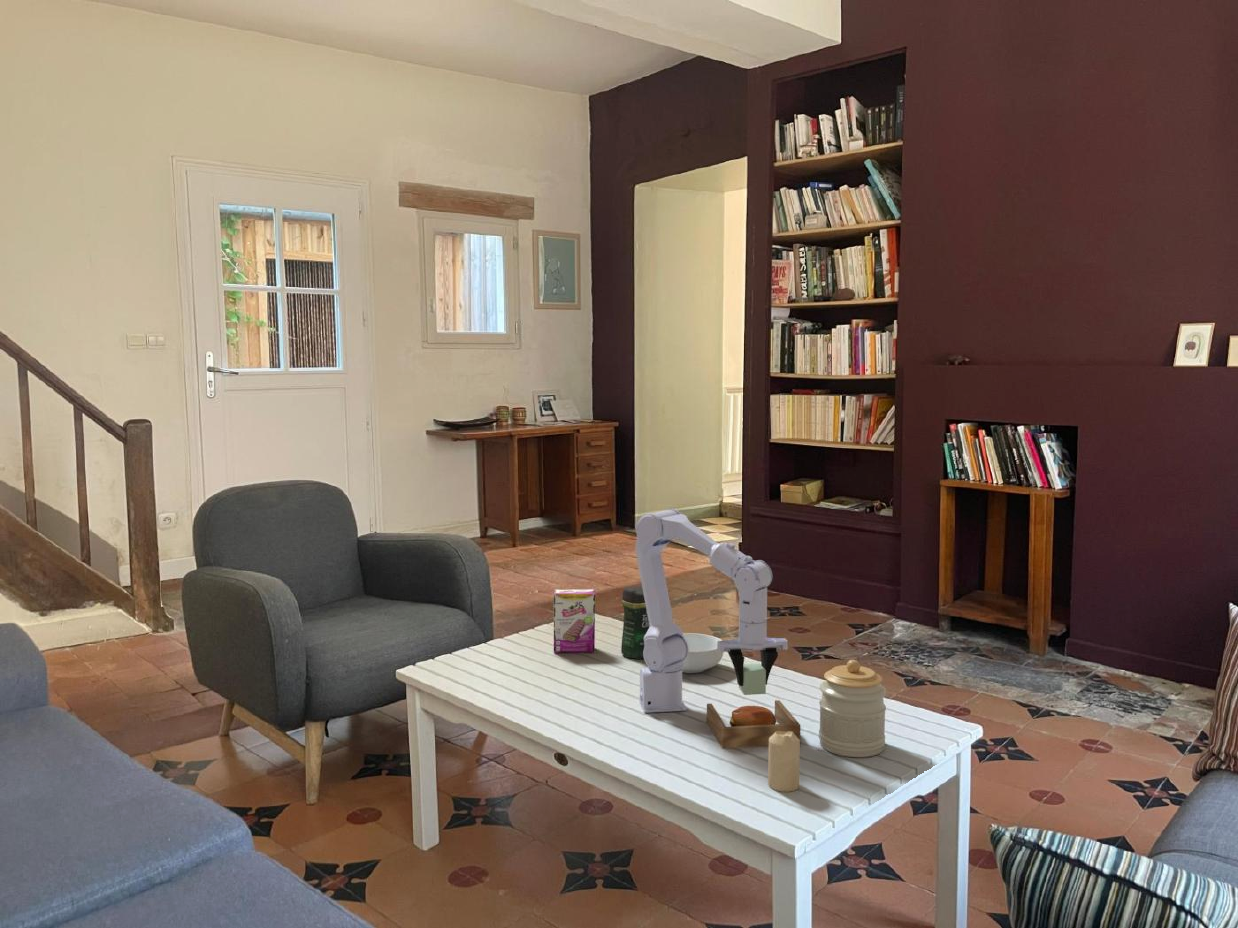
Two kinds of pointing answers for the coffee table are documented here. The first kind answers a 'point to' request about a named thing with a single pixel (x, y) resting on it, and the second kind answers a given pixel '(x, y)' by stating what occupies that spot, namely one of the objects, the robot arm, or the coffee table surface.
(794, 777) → the candle
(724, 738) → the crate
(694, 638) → the cereal bowl
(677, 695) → the robot arm
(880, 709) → the jar
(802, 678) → the coffee table surface
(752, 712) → the burger
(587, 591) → the candy bar box
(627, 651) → the coffee jar
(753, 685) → the pale green cube
